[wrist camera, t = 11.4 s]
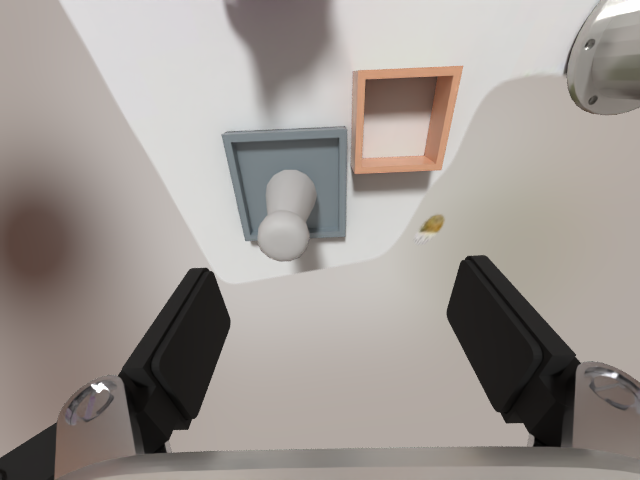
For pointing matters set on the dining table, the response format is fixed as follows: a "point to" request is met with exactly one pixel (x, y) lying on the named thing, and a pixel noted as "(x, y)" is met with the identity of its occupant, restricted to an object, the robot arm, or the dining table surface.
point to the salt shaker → (287, 215)
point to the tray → (290, 154)
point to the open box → (437, 127)
